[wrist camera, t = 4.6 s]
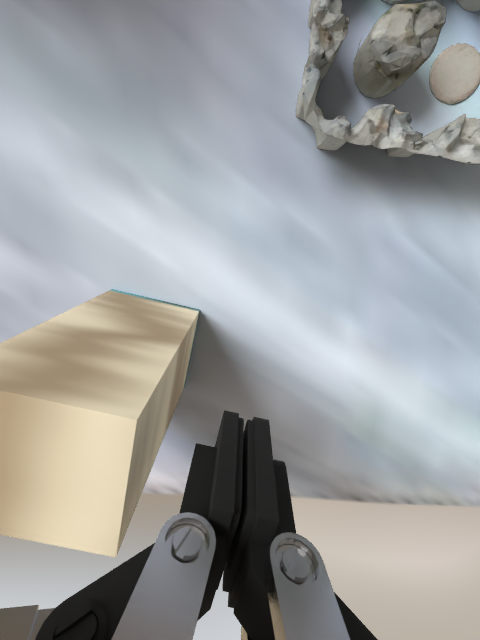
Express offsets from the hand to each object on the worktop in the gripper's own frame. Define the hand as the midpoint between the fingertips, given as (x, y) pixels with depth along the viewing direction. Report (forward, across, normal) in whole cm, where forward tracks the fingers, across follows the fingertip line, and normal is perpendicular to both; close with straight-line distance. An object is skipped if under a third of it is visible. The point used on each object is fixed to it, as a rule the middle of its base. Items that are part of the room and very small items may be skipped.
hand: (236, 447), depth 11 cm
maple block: (+7, +6, 0) cm, 9 cm away
